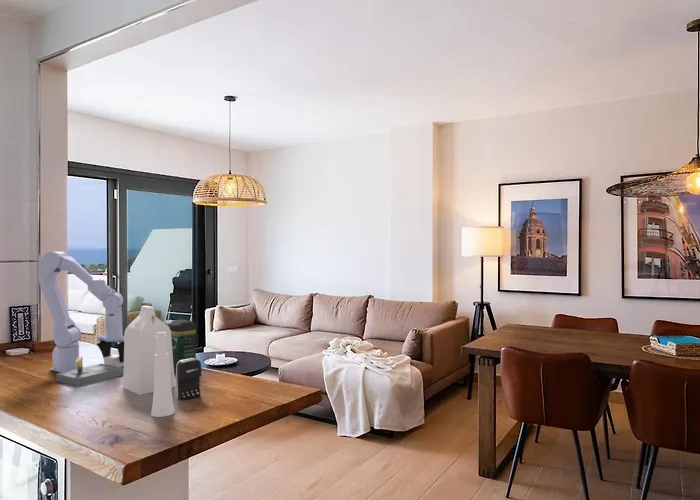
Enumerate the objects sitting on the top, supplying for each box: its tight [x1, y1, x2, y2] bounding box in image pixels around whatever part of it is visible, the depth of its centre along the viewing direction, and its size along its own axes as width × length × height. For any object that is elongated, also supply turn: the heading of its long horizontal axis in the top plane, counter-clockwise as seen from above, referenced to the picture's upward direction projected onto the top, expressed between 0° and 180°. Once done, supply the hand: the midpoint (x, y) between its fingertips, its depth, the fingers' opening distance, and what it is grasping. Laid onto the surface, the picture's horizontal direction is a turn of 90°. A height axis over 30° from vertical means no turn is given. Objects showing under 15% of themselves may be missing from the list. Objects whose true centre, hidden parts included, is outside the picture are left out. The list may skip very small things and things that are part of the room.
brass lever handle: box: [75, 356, 84, 372], centre depth 170 cm, size 2×8×5 cm, turn 22°
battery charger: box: [175, 357, 202, 401], centre depth 150 cm, size 7×4×11 cm, turn 133°
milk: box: [122, 305, 176, 396], centre depth 162 cm, size 12×12×26 cm
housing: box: [56, 363, 124, 387], centre depth 175 cm, size 13×16×3 cm
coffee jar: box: [168, 319, 197, 374], centre depth 182 cm, size 10×8×19 cm
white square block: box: [103, 353, 124, 367], centre depth 190 cm, size 5×5×4 cm
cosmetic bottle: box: [150, 332, 176, 418], centre depth 136 cm, size 6×6×22 cm
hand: (114, 361), depth 190 cm, fingers open, 7 cm apart
